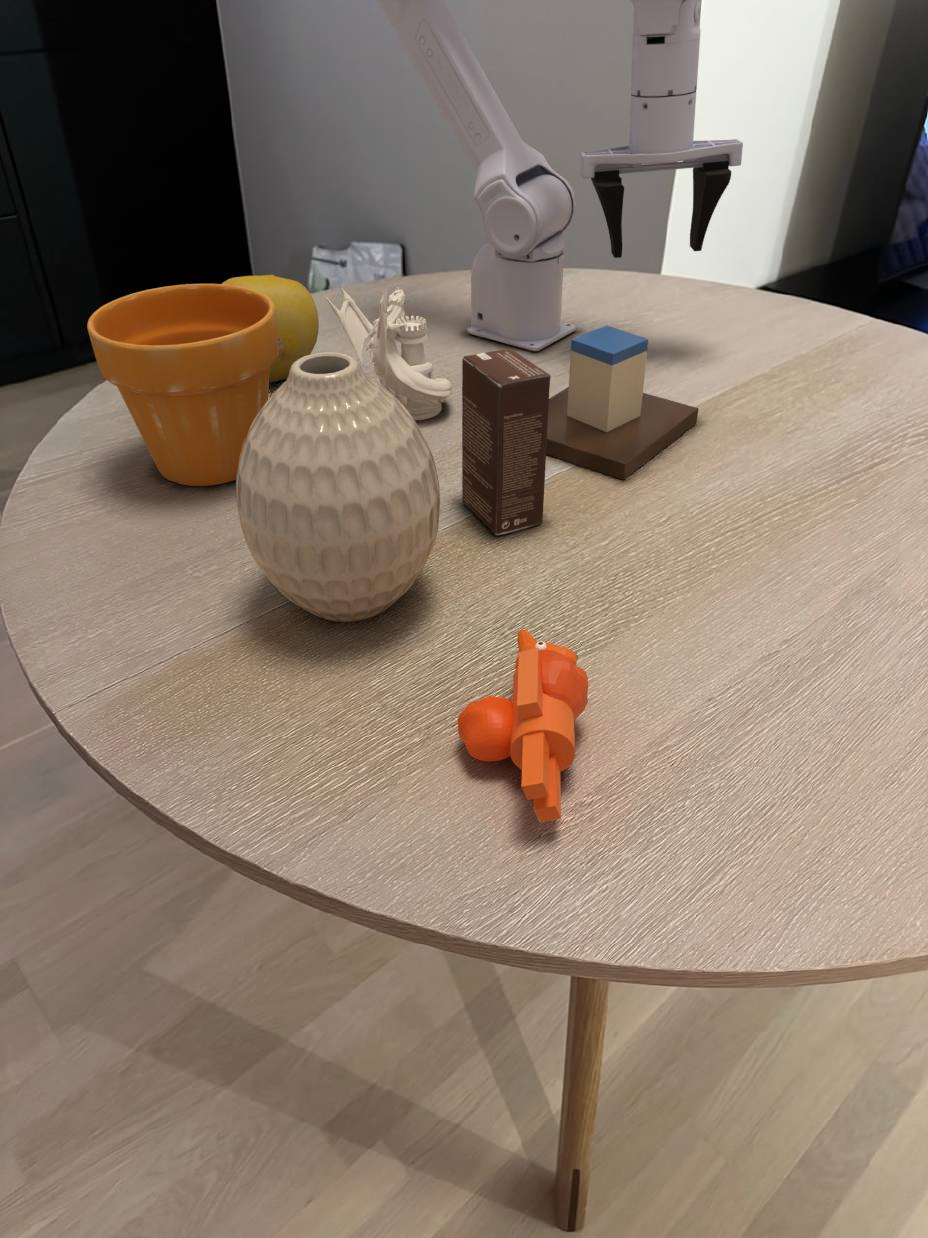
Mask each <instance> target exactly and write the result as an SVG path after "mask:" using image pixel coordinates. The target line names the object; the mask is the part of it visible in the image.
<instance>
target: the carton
mask: <svg viewBox="0 0 928 1238" xmlns="http://www.w3.org/2000/svg"><path fill="white" fill-rule="evenodd" d="M648 349H649V338H646V337H643V336H640V335H637V334H634V333H632V332H628V331H625V330H622V329H620V328H616V327H613V326H610V325H604V326H601V327H599V328H596V329H594V330H592V331H591V330H590V331H589V332H587V333H584V334H581V335H578V336H576V337H574V338H571V339H570V353H569V355H570V356H569V357H570V358H569V376H568V387H569V391H568V409H567V416H569V417H571V418H573V419H576V420H578V421H580V422H583V423H585V424H588V425H590V426H592V427H595V428H597V429H600V430H602V431H604V432H609V431H611V430H613V429H615V428H617V427H619V426H621V425H623V424H625V423H627V422H629V421H631V420H633V419H635V418H637V417H639V416H640V415H641V406H642V397H643V393H644V387H645V377H646V369H647V358H648V357H647V356H648Z"/></svg>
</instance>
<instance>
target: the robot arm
mask: <svg viewBox="0 0 928 1238" xmlns="http://www.w3.org/2000/svg"><path fill="white" fill-rule="evenodd" d="M629 1H630V2H631V4H632V5H633V28H632V29H633V31H632V44H631V48H632V49H631V78H630V79H631V80H630V81H631V86H630V113H629V115H630V116H629V117H630V118H629V145H623V146H617V147H611V148H610V147H609V148H605V149H598V150H589V151H581V152H580V154H579V155H580V162H579V163H580V170H579V171H580V176H581V178H582V179H583V180H584V179H590V180H591V182H592V185H593V187H594V190H595V192H596V194H597V195H596V196H597V197H598V200H599V202H600V206H601V208H602V211H603V214H604V218H605V222H606V226H607V230H608V235H609V240H610V241H609V242H610V250H611V255H612V256H613V258H615V259H619V258H622V257H623V226H622V225H623V224H622V223H623V208H624V195H625V186H624V184H623V183H622V181H623V179H622V178H623V177H621V176H620V175H624V174H625V175H626V174H634V173H635V174H637V173H649V172H661V171H672V170H683V169H684V170H685V169H692V191H693V192H692V213H691V223H690V230H689V248H691V249H692V251H693V252H702V249H703V244H704V241H705V237H706V233H707V230H708V228H709V225H710V222H711V219H712V218H713V214H714V212H715V209H716V208H717V206H718V204H719V202H720V200H721V198H722V196H723V194H724V192H725V191H726V189H727V187H728V186H729V184H730V182H731V180H732V179H731V178H732V170H731V169H729V168H730V167H740V166H742V159H743V148H744V142H743V141H741V140H739V139H738V138H733V139H713V140H712V139H711V140H705V139H704V140H694V135H695V134H694V133H695V122H696V121H695V119H696V105H697V104H696V103H697V90H698V74H699V61H700V44H701V17H702V15H701V14H702V2H703V0H629ZM377 2H378V5H379V7H380V10H381V11H382V13H383V15H384V17H385V18H386V20H387V21H388V23H389V25H390V27H391V28H392V30H393V32H394V34H395V35H396V37H397V39H398V40H399V42H400V43H401V44H400V45H402V47H403V49H404V51H405V52H406V54H407V56H408V58H409V59H410V61H411V63H412V65H413V66H414V68H415V70H416V71H417V73H418V75H419V76H420V78H421V80H422V82H423V83H424V86H425V87H426V89H427V91H428V92H429V94H430V96H431V97H432V99H433V101H434V103H435V104H436V106H437V109H439V111H440V113H441V114H442V117H443V118H444V120H445V121H446V123H447V125H448V126H449V128H450V130H451V132H452V134H453V135H454V137H455V139H456V141H457V142H458V144H459V146H460V147H461V149H462V151H463V152H464V155H465V156H466V158H467V160H468V162H469V163H470V165H471V166H472V168H473V170H474V172H475V174H476V175H475V182H474V190H473V200H474V202H475V204H476V205H477V207H478V209H479V211H480V214H481V217H482V224H483V231H484V234H485V236H486V239H487V241H488V242H489V243H486V244H484V245H483V246H482V247H481V248H480V249H479V250H478V252H476V255H475V257H474V260H473V262H472V266H471V272H470V304H471V305H470V306H471V309H470V311H471V312H470V313H471V326H469V327H468V328H467V330H466V332H467V334H469V335H474V336H476V337H481V338H484V339H487V340H491V341H496V342H500V343H503V344H507V345H511V346H513V347H517V348H520V349H524V350H528V351H532V352H539V351H542V350H543V349H544V348H547V347H548V346H550V345H551V344H554V343H555V342H558V341H559V340H561V339H562V338H564V337H566V336H568V335H570V334H572V333H573V332H576V330H577V325H575V324H573V323H568V322H563V321H562V307H563V306H562V303H563V283H564V282H563V281H564V280H563V279H564V264H565V263H564V259H565V242H564V231H566V229H568V228H569V226H570V225H571V224H572V222H573V220H574V217H575V213H576V206H577V205H576V197H575V193H574V190H573V188H572V186H571V185H570V183H569V182H568V180H567V179H565V178H564V176H562V175H560V174H559V173H557V172H556V171H555V170H554V169H553V168H552V167H551V166H550V164H549V162H548V161H547V160H546V158H545V156H544V155H543V154H542V153H541V152H539V151H538V150H537V149H535V148H533V147H532V146H530V145H528V144H527V143H526V142H525V141H524V140H522V137H521V136H520V134H519V132H518V130H517V129H516V127H515V125H514V123H513V121H512V119H511V118H510V116H509V114H508V112H507V110H506V109H505V106H503V103H502V102H501V100H500V98H499V96H498V95H497V93H496V91H495V89H494V88H493V86H492V84H491V82H490V80H489V79H488V77H487V75H486V73H485V71H484V70H483V68H482V66H481V64H480V62H479V61H478V59H477V57H476V55H475V53H474V52H473V50H472V48H471V46H470V45H469V43H468V41H467V39H466V38H465V36H464V34H463V32H462V30H461V29H460V26H459V25H458V23H457V21H456V20H455V18H454V16H453V14H452V12H451V11H450V8H449V6H448V5H447V4H446V2H445V0H377Z"/></svg>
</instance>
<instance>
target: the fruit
mask: <svg viewBox="0 0 928 1238" xmlns="http://www.w3.org/2000/svg"><path fill="white" fill-rule="evenodd" d="M221 284H224V285H233V286H239V287H244V288H248V289H252V290H255V291H258V292H260V293H262V294H264V295H266V296H267V297H268V298H270V299H271V301H272V302H273V304H274V306H275V313H276V320H277V329H278V339H279V354H278V357H277V359H276V361H275V362H274V364H273V365H272V366H271V367H270V373H269V383H275V382H280V381H282V380H283V381H284V380H285V379H286V380H287V378H288V376H289V370H290V368H291V365H292V364H293V363H294V362H295V361H297V360H298V359H300V358H302V357H304V356H307V355H311V354H312V352H313V350H314V348H315V346H316V343H317V341H318V336H319V327H320V325H319V323H320V322H319V313H318V312H319V311H318V308H317V304H316V302H315V300H314V298H313V296H312V294H311V293H310V291H309V290H308V289H307V288H306V287H305V286H304V285H303V284H302V283H300V282H299V281H297V280H293V279H289V278H285V277H281V276H276V275H274V274H265V275H264V274H263V275H244V276H236V277H231V278H228V279H227V280H225V281H223V282H222V283H221Z"/></svg>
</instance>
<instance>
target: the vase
mask: <svg viewBox="0 0 928 1238" xmlns="http://www.w3.org/2000/svg"><path fill="white" fill-rule="evenodd" d="M235 491H236V492H235V495H236V497H235V498H236V506H237V512H238V518H239V524H240V527H241V531H242V534H243V538H244V540H245V544H246V547H247V548H248V551H249V552H250V554H251V556H252V558H253V560H254V562H255V563H256V565H257V567H258V568H259V570H260V571H261V572H262V574H263V575H264V576H265V577H266V578H267V580H268V581H269V582H270V583H271V585H272V586H274V588H275V589H276V590H277V591H279V592H280V593H281V594H282V595H283V596H284V597H285V598H286V599H287V600H288V601H290V603H291V602H292V604H294V605H296V606H297V607H299V608H301V609H303V610H305V611H306V612H308V613H310V614H312V615H315V616H317V617H319V618H321V619H322V620H323V619H324V620H326V621H331V622H336V623H352V622H359V621H365V620H368V619H371V618H373V617H376V616H378V615H380V614H381V613H383V612H384V611H386V610H387V609H389V608H390V607H392V606H393V605H394V604H395V603H396V602H397V601H398V600H400V598H402V597H403V596H404V595H405V594H406V593H407V592H408V591H409V590H410V589H411V587H412V586H413V584H414V583H415V582H416V580H417V579H418V577H419V576H420V575H421V573H422V571H423V569H424V568H425V566H426V564H427V562H428V561H429V558H430V556H431V555H432V551H433V549H434V546H435V542H436V539H437V534H438V531H439V527H440V526H439V523H440V513H441V511H440V510H441V496H440V482H439V477H438V471H437V466H436V463H435V459H434V456H433V454H432V451H431V448H430V446H429V443H428V441H427V439H426V437H425V435H424V433H423V432H422V429H421V428H420V426H419V425H418V423H417V421H416V420H414V419H413V417H412V416H411V414H410V413H409V411H408V410H407V409H406V408H405V407H404V406H403V405H402V403H401V402H400V401H399V400H398V399H397V398H396V397H395V396H394V395H392V394H391V393H390V392H389V391H388V390H387V389H386V388H384V387H383V386H382V384H381V383H379V382H378V381H376V379H373V378H372V377H371V376H369V375H368V374H366V373H365V371H363V368H362V365H361V363H360V362H359V361H358V360H357V359H356V358H355V357H353V356H351V355H349V354H346V353H342V352H337V351H336V352H335V351H334V352H333V351H324V352H315V353H311V354H310V355H307V356H304V357H302V358H300V359H298V360H297V361H295V362H294V363H293V364H292V365H291V368H290V370H289V376H288V377H287V378H286V380H285V381H284V382H283V383H282V384H281V385H280V386H278V388H277V389H275V391H274V392H273V393H272V394H271V395H270V396H269V397H268V400H267V402H266V403H265V404H264V405H263V407H262V408H261V409H260V411H259V412H258V414H257V416H256V417H255V419H254V421H253V422H252V424H251V427H250V429H249V432H248V434H247V436H246V439H245V441H244V444H243V447H242V451H241V454H240V458H239V463H238V470H237V477H236V480H235Z"/></svg>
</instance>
